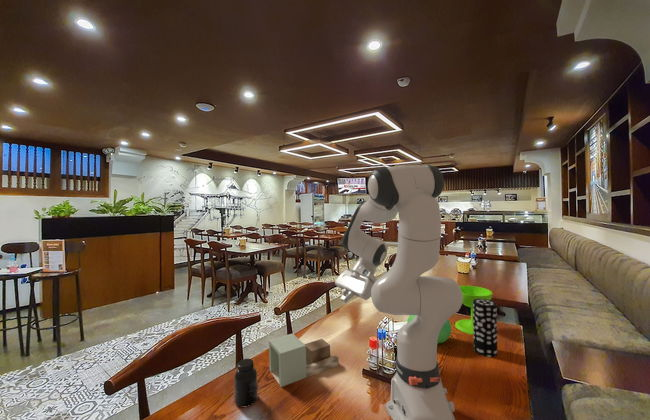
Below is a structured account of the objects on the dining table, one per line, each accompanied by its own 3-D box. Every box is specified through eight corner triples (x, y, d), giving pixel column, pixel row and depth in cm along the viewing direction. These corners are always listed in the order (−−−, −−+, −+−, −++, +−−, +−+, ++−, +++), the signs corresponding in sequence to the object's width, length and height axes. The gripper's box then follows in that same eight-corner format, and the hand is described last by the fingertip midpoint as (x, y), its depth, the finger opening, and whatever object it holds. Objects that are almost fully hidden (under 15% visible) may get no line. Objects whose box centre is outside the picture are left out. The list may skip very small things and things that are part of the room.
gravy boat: (408, 348, 115) (407, 313, 115) (406, 330, 131) (405, 299, 131) (455, 353, 111) (454, 316, 110) (447, 333, 127) (446, 302, 127)
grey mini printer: (323, 353, 113) (323, 344, 113) (338, 366, 103) (338, 356, 103) (269, 372, 101) (269, 362, 101) (281, 388, 92) (280, 378, 91)
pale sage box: (293, 362, 106) (292, 333, 106) (306, 377, 96) (305, 345, 96) (269, 370, 101) (268, 340, 101) (281, 387, 92) (280, 353, 91)
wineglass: (455, 318, 143) (455, 284, 143) (491, 324, 136) (491, 287, 135) (454, 331, 129) (453, 293, 129) (494, 338, 122) (493, 298, 121)
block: (322, 356, 110) (322, 338, 110) (330, 363, 104) (330, 345, 104) (304, 362, 106) (304, 344, 105) (311, 370, 100) (311, 351, 100)
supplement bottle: (230, 404, 85) (229, 366, 84) (244, 390, 91) (243, 354, 91) (248, 410, 82) (247, 370, 82) (261, 395, 88) (260, 358, 88)
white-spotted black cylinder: (470, 345, 116) (470, 298, 116) (492, 347, 115) (492, 299, 114) (477, 356, 108) (476, 305, 108) (501, 358, 106) (500, 306, 106)
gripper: (342, 263, 124) (324, 289, 119) (373, 274, 106) (353, 304, 101) (351, 272, 126) (333, 297, 121) (382, 283, 109) (363, 313, 104)
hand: (342, 301), depth 111 cm, fingers closed
